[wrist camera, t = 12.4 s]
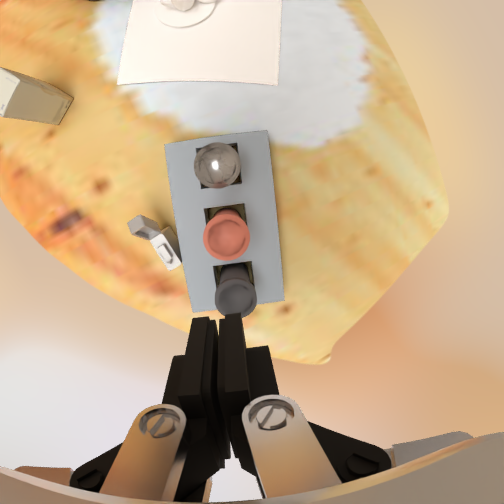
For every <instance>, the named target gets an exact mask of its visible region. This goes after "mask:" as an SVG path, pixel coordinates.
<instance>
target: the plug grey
mask: <svg viewBox="0 0 504 504" xmlns="http://www.w3.org/2000/svg"><path fill="white" fill-rule="evenodd" d="M240 169H241V161H240V158H239V155H238V153H237V152H236V151H235V149H234V148H232V147H231V146H230V145H228V144H225V143H221V142H215V143H210V144H208V145H206V146H204V147H203V148H202V149H201V150H200V151H199V152H198V153H197V155H196V157H195V160H194V172H195V175H196V177H197V178H198V180H199V181H200V182H201V183H202V184H204V185H205V186H207V187H210V188H214V189H219V188H224V187H227V186H229V185H230V184H232V183H233V182H234V181H235V180H236V178H237V177H238V175H239V173H240Z"/></svg>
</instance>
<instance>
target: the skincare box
mask: <svg viewBox="0 0 504 504" xmlns="http://www.w3.org/2000/svg"><path fill="white" fill-rule="evenodd" d="M72 100H73V98H72V97H71V96H69V95H68V94H66V93H65V92H63V91H61V90H60V89H58V88H56V87H54V86H53V85H51V84H49V83H46V82H44V81H41V80H38V79H35V78H33V77H30V76H27V75H24V74H21V73H18V72H15V71H11V70H8V69H5V68H2V67H0V116H1V117H6V118H14V119H21V120H28V121H35V122H42V123H48V124H54V125H59V123H60V121H61V119H62V118H63V116H64V114H65V112H66V111H67V109H68V107H69V105H70V104H71V102H72Z"/></svg>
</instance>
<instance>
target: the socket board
mask: <svg viewBox="0 0 504 504" xmlns="http://www.w3.org/2000/svg"><path fill="white" fill-rule="evenodd" d="M215 142H221V143H225V144H228V145H230V146H237V153H238V155H239V158H240V161H241V169H240V179H241V182H237V183H232V184H230V185H229V186H227V187H224V188H219V189H214V188H210V187H204V184H202V183H201V182H200V181H199V180H198V178H197V177H196V175H195V172H194V160H195V157H196V155H197V153H198V152H199V151H200V150H201V149H202V148H203V147H204V146H206V145H208V144H210V143H215ZM164 145H165V154H166V161H167V169H168V177H169V184H170V191H171V197H172V204H173V210H174V217H175V223H176V229H177V234H178V240H179V246H180V251H181V257H182V262H183V267H184V272H185V277H186V282H187V287H188V292H189V297H190V302H191V306H192V311H193V312H202V311H210V310H218V309H217V308H216V305H215V292H216V289H217V287H218V286H219V282H218V276H217V270H216V266H217V265H224V264H232V263H240V262H247V261H251V269H252V277H253V284H252V285H253V287H254V288H255V291H256V295H257V304H264V303H271V302H278V301H285V300H284V288H283V276H282V265H281V254H280V243H279V232H278V222H277V212H276V202H275V193H274V184H273V174H272V166H271V157H270V148H269V140H268V131H267V130H265V131H254V132H245V133H236V134H228V135H220V136H213V137H206V138H199V139H193V140H187V141H181V142H175V143H169V144H164ZM241 203H243V204H244V212H245V220H246V225H247V227H248V230H249V233H250V242H249V246H248V248H247V250H246V251H245V253H244V254H243V255H241V256H240V257H238V258H237V259H234V260H230V261H223V260H219V259H216V258H214V257H213V256H212V255H210V254H209V253H208V251H207V250H206V248H205V246H204V243H203V233H204V230H205V227H206V225H207V223H208V222H209V218H208V211H207V208H211V207H219V206H226V205H234V204H241ZM257 304H256V305H257Z"/></svg>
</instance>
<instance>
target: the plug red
mask: <svg viewBox="0 0 504 504" xmlns="http://www.w3.org/2000/svg"><path fill="white" fill-rule="evenodd" d="M249 242H250V233H249V230H248V227H247V225H246V223H245V222H244V221H243V220H242V219H241V216H240V214H239V213H238V212H237V211H236V210H234V209H232V208H222V209H220V210H218V211H217V212H216V213H215V214H214V216H213V218H212V219H211V220H210V221H209V222H208V223H207V225H206V227H205V230H204V233H203V243H204V246H205V248H206V250H207V251H208V253H209V254H210V255H212V256H213V257H214V258H216V259H219V260H223V261H230V260H234V259H237V258H238V257H240V256H241V255H243V254H244V253H245V251H246V250H247V248H248V246H249Z"/></svg>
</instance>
